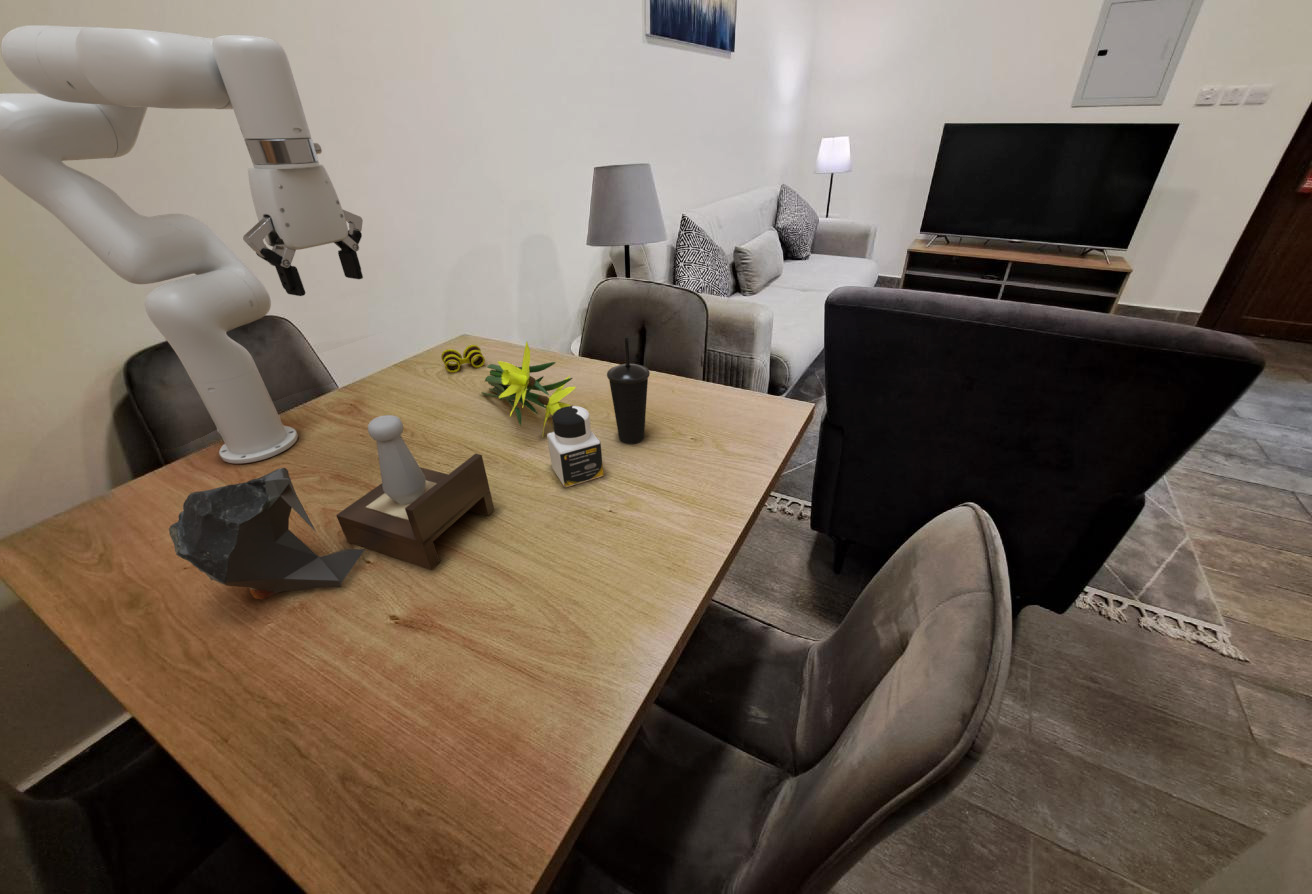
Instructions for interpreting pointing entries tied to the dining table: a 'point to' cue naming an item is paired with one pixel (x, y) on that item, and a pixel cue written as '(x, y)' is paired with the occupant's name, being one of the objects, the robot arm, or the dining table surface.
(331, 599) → the dining table surface
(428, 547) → the dark wooden box
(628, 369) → the drinking cup
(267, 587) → the dark grey irregular lump
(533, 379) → the daffodil flowers
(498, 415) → the dining table surface
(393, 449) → the salt shaker
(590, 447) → the medicine bottle
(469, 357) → the opera glasses
